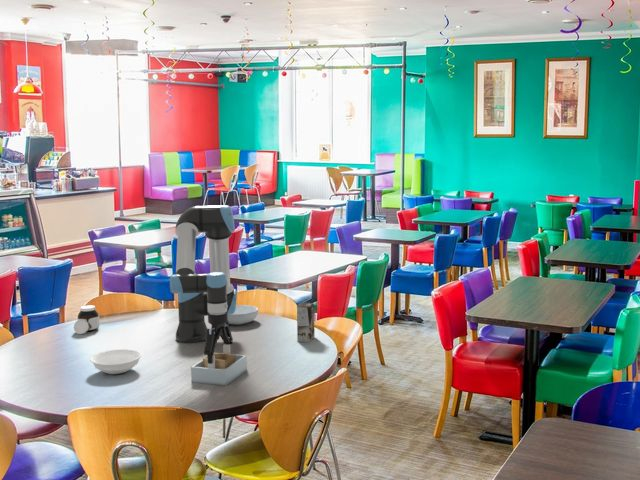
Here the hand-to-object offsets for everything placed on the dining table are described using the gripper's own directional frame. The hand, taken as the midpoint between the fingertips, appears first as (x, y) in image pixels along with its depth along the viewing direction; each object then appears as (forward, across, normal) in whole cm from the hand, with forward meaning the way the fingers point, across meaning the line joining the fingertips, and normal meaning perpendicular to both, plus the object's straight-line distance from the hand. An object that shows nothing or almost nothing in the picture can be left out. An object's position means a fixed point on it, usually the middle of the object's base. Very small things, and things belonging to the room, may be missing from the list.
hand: (219, 365), depth 297 cm
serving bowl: (+5, +77, +28) cm, 82 cm away
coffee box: (+5, +58, -15) cm, 60 cm away
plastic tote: (+4, 0, 0) cm, 4 cm away
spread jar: (+5, +42, +91) cm, 100 cm away
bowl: (+4, -7, +42) cm, 43 cm away
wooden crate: (+3, 0, 0) cm, 3 cm away
